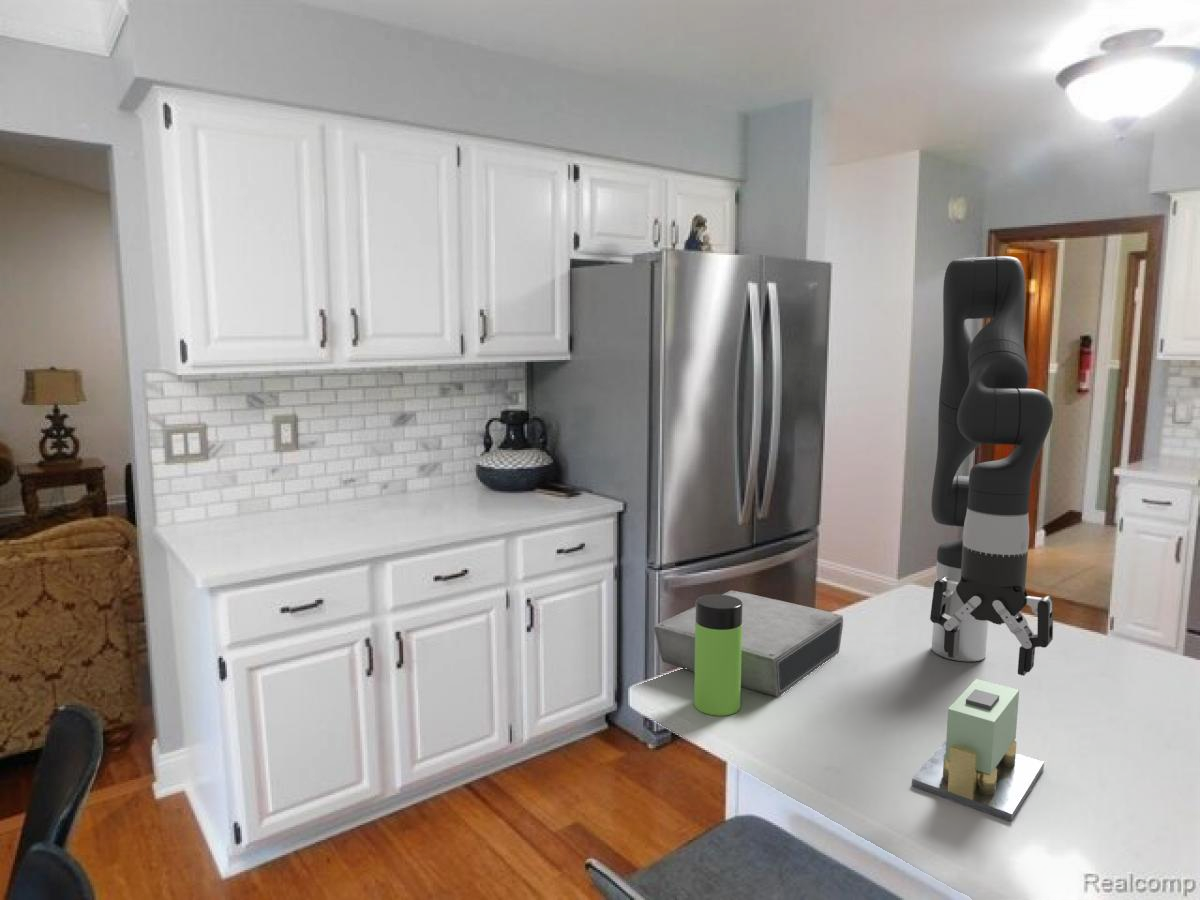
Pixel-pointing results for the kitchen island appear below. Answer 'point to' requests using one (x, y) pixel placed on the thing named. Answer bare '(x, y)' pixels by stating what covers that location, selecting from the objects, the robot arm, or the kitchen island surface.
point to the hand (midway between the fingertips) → (986, 664)
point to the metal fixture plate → (980, 780)
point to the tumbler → (718, 654)
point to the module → (983, 722)
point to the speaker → (763, 641)
